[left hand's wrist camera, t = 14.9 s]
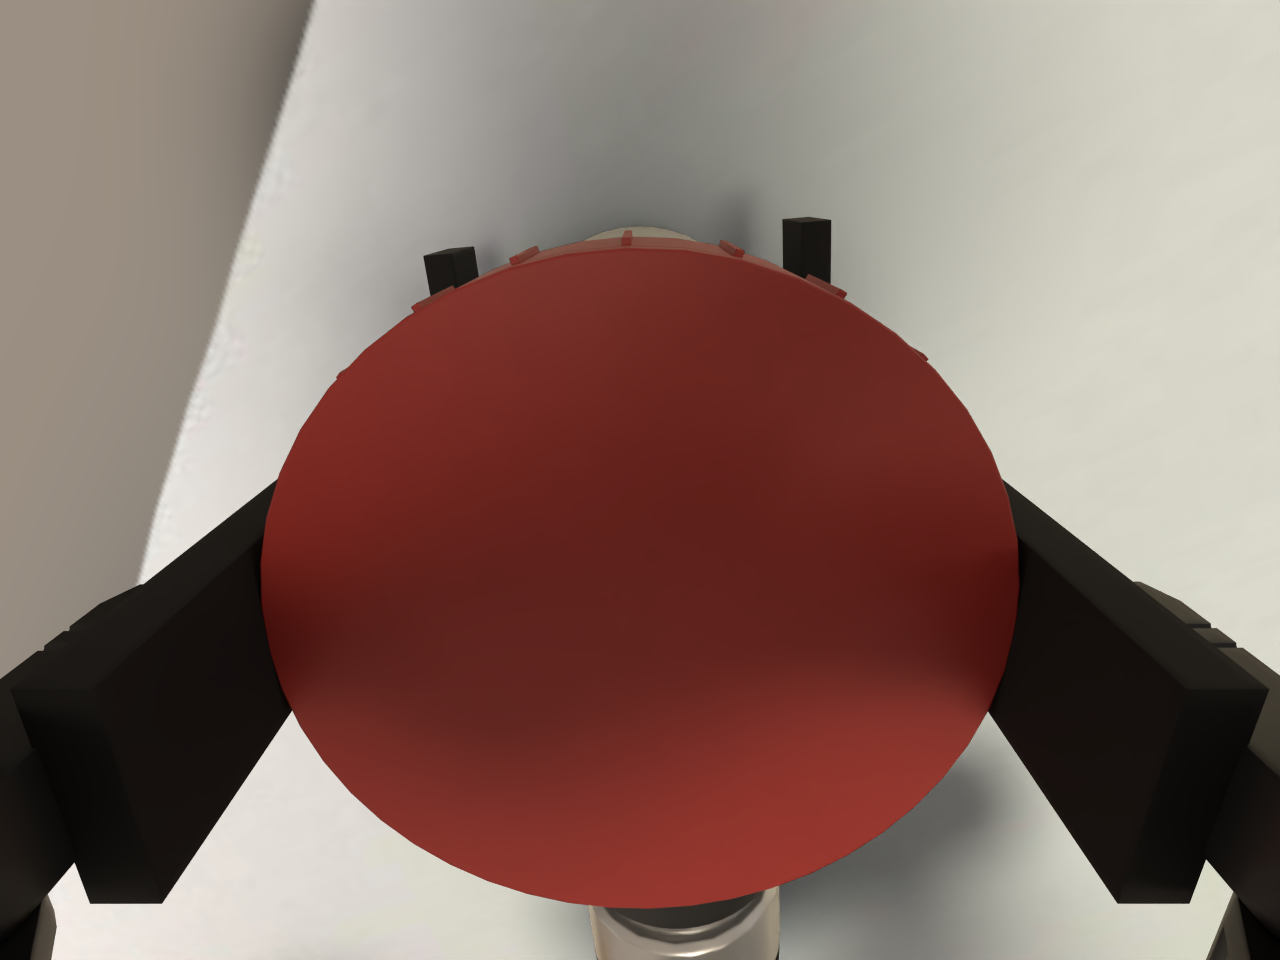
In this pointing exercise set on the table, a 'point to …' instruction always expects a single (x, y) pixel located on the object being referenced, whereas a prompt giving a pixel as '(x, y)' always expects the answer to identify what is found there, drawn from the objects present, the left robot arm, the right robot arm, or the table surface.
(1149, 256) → the table surface
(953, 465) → the lid
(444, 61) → the table surface
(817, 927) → the table surface
